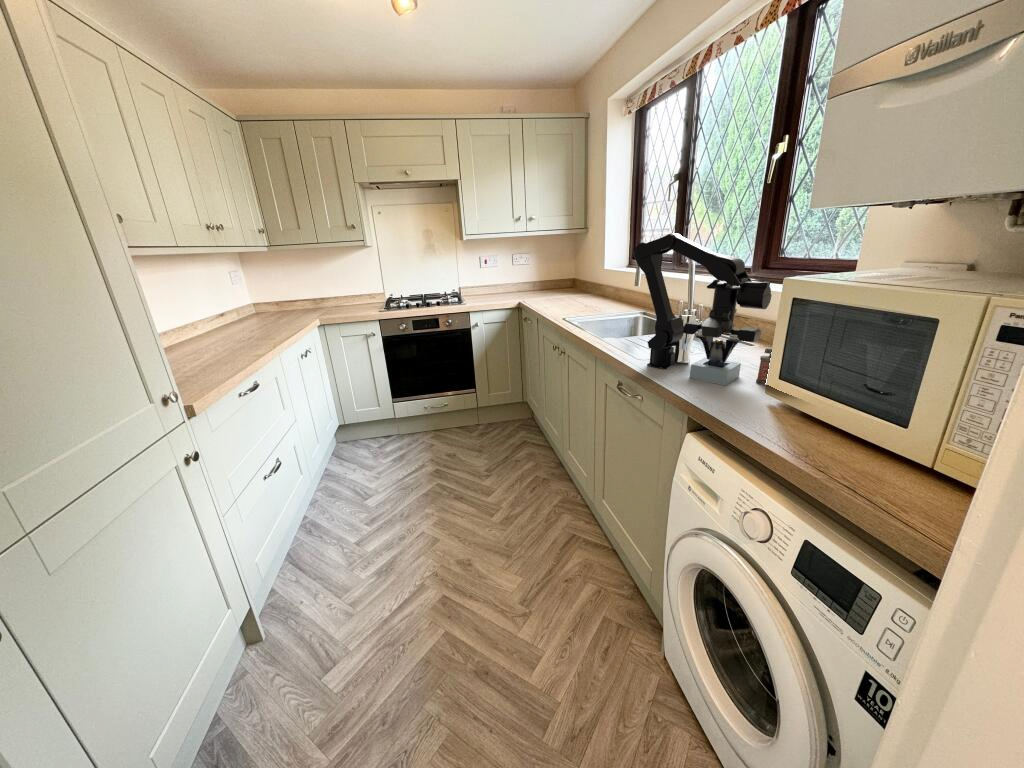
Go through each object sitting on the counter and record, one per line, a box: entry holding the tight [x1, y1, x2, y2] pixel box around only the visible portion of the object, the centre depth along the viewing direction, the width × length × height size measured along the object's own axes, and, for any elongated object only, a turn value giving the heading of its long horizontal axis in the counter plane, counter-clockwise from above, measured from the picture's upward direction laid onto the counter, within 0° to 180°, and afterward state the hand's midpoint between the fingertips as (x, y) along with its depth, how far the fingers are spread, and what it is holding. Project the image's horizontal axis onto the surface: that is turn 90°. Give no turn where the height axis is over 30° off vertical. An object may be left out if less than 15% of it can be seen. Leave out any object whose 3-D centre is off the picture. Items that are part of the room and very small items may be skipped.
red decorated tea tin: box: [755, 347, 773, 386], centre depth 106 cm, size 8×3×10 cm, turn 56°
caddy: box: [689, 356, 742, 386], centre depth 114 cm, size 10×10×4 cm
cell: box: [708, 338, 726, 368], centre depth 113 cm, size 4×4×8 cm
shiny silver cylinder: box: [672, 314, 697, 364], centre depth 128 cm, size 7×7×15 cm
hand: (716, 360), depth 113 cm, fingers closed on cell, 4 cm apart
